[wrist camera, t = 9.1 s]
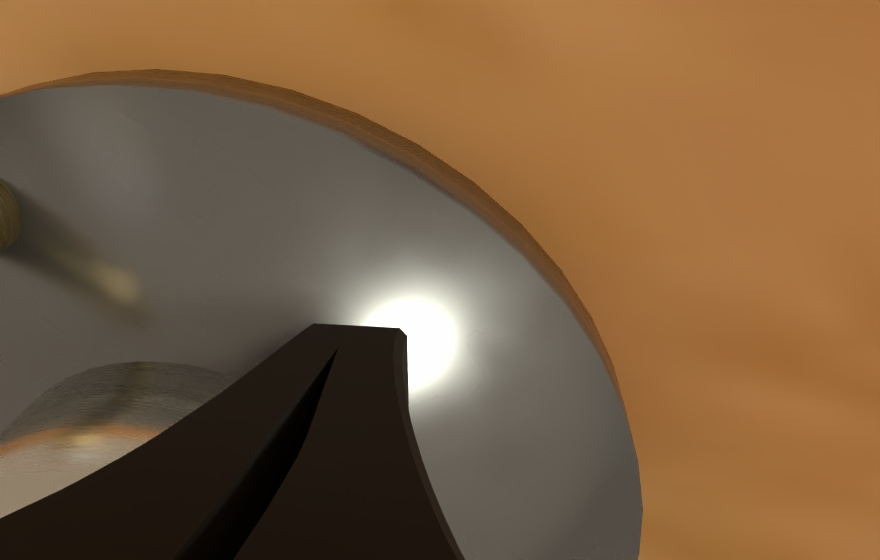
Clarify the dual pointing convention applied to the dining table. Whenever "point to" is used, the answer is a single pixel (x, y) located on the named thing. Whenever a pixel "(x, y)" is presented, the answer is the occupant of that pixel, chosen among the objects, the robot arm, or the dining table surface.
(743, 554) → the dining table surface
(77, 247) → the disc
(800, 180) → the dining table surface
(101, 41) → the dining table surface
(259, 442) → the robot arm
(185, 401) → the cover
